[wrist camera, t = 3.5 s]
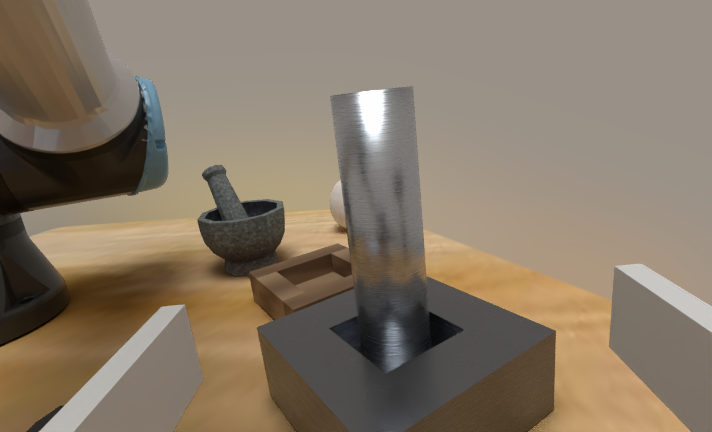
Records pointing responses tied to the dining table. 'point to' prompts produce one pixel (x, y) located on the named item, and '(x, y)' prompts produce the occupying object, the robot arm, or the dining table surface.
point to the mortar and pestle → (240, 226)
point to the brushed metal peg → (384, 222)
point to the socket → (412, 370)
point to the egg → (338, 205)
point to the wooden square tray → (302, 281)
